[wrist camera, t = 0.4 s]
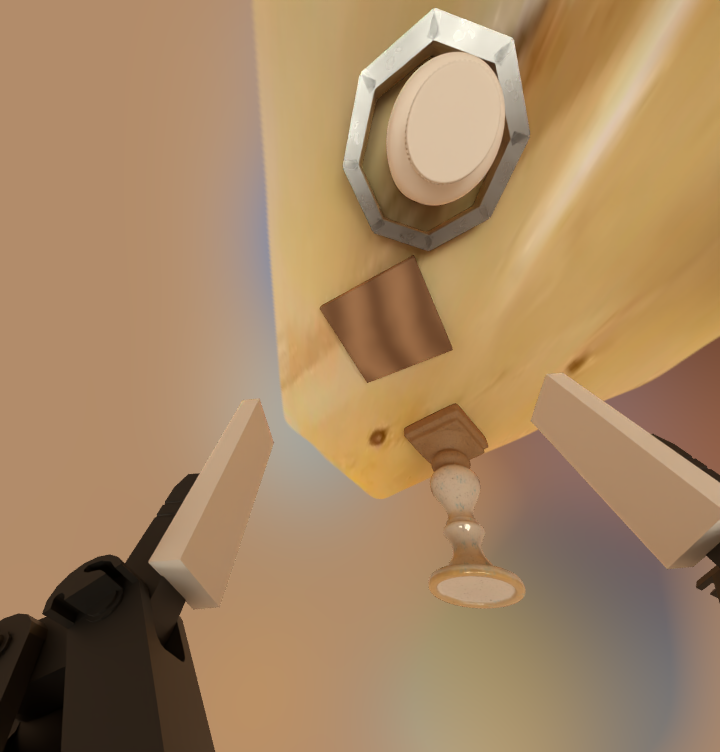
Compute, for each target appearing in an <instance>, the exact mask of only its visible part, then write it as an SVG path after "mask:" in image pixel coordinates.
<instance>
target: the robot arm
mask: <svg viewBox="0 0 720 752" xmlns="http://www.w3.org/2000/svg"><path fill="white" fill-rule="evenodd" d="M531 422H532V423H533V424H534V425H535V426H536V427H537V428H538V429H539V430H540V431H541V433H542V434H543V435H544V436H545V437H546V438H547V439H548V440H549V441H550V442H551V443H552V445H553V446H554V447H555V448H556V449H557V450H558V451H559V452H560V453H561V454H562V455H563V457H564V458H565V459H566V460H567V461H568V462H569V463H570V464H571V465H572V466H573V467H574V468H575V470H576V471H577V472H578V473H579V474H580V475H581V476H582V477H583V478H584V479H585V480H586V481H587V483H588V484H589V485H590V486H591V487H592V488H593V489H594V490H595V491H596V492H597V493H598V494H599V495H600V497H601V498H602V499H603V500H604V501H605V502H606V503H607V504H608V505H609V506H610V508H611V509H612V510H613V511H614V512H615V513H616V514H617V515H618V516H619V517H620V518H621V519H622V520H623V522H624V523H625V524H626V525H627V526H628V527H629V528H630V529H631V530H632V531H633V532H634V534H635V535H636V536H637V537H638V538H639V539H640V540H641V541H642V542H643V543H644V544H645V545H646V547H647V548H648V549H649V550H650V551H651V552H652V553H653V554H654V555H655V556H656V557H657V558H658V560H659V561H660V562H661V563H662V564H663V565H664V566H665V567H666V568H667V569H672V568H683V567H694V566H695V565H696V564H697V563H698V562H699V561H700V560H702V559H703V558H704V557H705V556H708V557H709V558H710V559H711V560H712V561H713V562H714V563H715V564H716V566H715V567H714V568H713V569H711V570H710V571H709V572H708V573H707V574H705V575H704V576H703V577H701V578H700V579H699V580H698V581H697V584H696V588H698V589H700V590H703V589H705V588H706V587H707V586H708V585H710V584H711V583H714V584H715V589H714V590H713V591H712V592H711V593H710V594H711V595H713V596H715V597H717V598H718V599H719V602H720V475H719V474H717V473H716V472H714V471H713V470H711V469H708V468H707V466H706V465H704V464H703V463H701V462H700V461H698V460H697V459H693V458H692V456H691V455H689V454H688V453H686V452H685V451H683V450H682V449H681V448H679V447H678V446H676V445H675V444H673V443H671V442H669V441H666V440H665V439H662V438H660V437H658V436H656V435H654V434H649V433H648V432H647V431H645V430H644V429H642V428H641V427H640V426H638V425H636V424H635V423H634V422H632V421H631V420H629V419H628V418H627V417H625V416H624V415H622V414H621V413H619V412H618V411H617V410H615V409H614V408H612V407H611V406H609V405H608V404H607V403H605V402H604V401H602V400H601V399H600V398H598V397H597V396H595V395H594V394H592V393H591V392H590V391H588V390H587V389H585V388H584V387H582V386H581V385H580V384H578V383H577V382H575V381H574V380H572V379H571V378H570V377H568V376H567V375H565V374H564V373H554V374H546V376H545V379H544V382H543V385H542V388H541V391H540V394H539V397H538V400H537V403H536V406H535V409H534V412H533V415H532V418H531ZM273 443H274V442H273V439H272V436H271V433H270V430H269V427H268V424H267V421H266V417H265V414H264V411H263V408H262V405H261V402H260V399H249V400H243V401H242V402H241V404H240V405H239V407H238V409H237V411H236V412H235V414H234V416H233V417H232V419H231V421H230V423H229V424H228V426H227V428H226V430H225V431H224V433H223V435H222V436H221V438H220V440H219V442H218V443H217V445H216V447H215V448H214V450H213V452H212V453H211V455H210V457H209V459H208V460H207V462H206V464H205V465H204V467H203V469H202V471H201V472H200V473H199V474H188V475H187V476H186V477H185V478H184V479H183V480H182V481H181V482H180V483H179V484H177V485H176V486H175V487H174V489H173V490H172V492H171V493H170V495H169V497H168V498H167V500H166V501H165V505H163V506H162V507H161V509H160V510H159V512H158V513H157V517H156V518H154V520H153V521H152V523H151V524H150V526H149V527H148V529H147V530H146V532H145V534H144V535H143V536H142V538H141V540H140V541H139V543H138V544H137V546H136V547H135V549H134V550H133V552H132V553H131V555H130V556H129V558H128V560H127V561H126V563H124V562H122V560H120V558H118V557H117V556H113V555H105V556H100V557H97V558H95V559H93V560H91V561H88V562H86V563H84V564H83V565H82V566H80V567H79V568H78V569H76V570H75V571H74V572H72V573H70V574H69V575H68V576H67V578H65V579H64V580H63V581H62V582H61V583H60V584H59V585H58V586H57V587H56V589H55V590H54V592H53V593H52V594H51V596H50V597H49V599H48V600H47V602H46V605H45V608H44V610H43V613H42V614H43V615H45V616H47V617H45V618H42V619H40V620H37V619H35V618H33V617H31V616H29V615H27V614H16V615H13V616H10V617H7V618H4V619H2V620H1V621H0V752H215V750H214V745H213V742H212V737H211V733H210V730H209V725H208V721H207V717H206V713H205V710H204V705H203V701H202V697H201V693H200V689H199V685H198V681H197V677H196V673H195V669H194V665H193V661H192V657H191V653H190V649H189V645H188V641H187V637H186V633H185V629H184V625H183V621H182V619H181V617H180V616H179V615H180V613H181V610H182V608H183V605H184V603H185V601H186V602H187V603H188V604H189V605H190V606H191V607H192V608H193V609H204V608H214V607H215V608H216V607H220V604H221V601H222V598H223V595H224V592H225V589H226V586H227V583H228V580H229V577H230V574H231V571H232V568H233V565H234V561H235V559H236V556H237V553H238V550H239V547H240V544H241V541H242V538H243V535H244V531H245V528H246V525H247V522H248V519H249V516H250V513H251V510H252V507H253V504H254V501H255V498H256V495H257V492H258V489H259V486H260V483H261V480H262V477H263V474H264V471H265V468H266V465H267V461H268V459H269V456H270V453H271V449H272V447H273Z"/></svg>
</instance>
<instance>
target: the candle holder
mask: <svg viewBox="0 0 720 752" xmlns="http://www.w3.org/2000/svg"><path fill="white" fill-rule="evenodd" d="M404 433H405V437H406V438H407V439H408V441H409V442H410V443H411V444H412V445H413V446H414V447H415V449H416V450H417V451H418V452H419V453H420V454H421V455H422V456H423V457H424V458H425V459H426V460H427V461H428V462H430V463H431V464H432V469H433V471H434V473H433V475H432V476H431V480H430V487H431V491H432V493H433V495H434V496H435V498H436V499H437V501H438V502H439V503H440V504H441V505H442V506H443V507H444V509H445V510H446V512H447V514H448V521H447V523H446V526H445V527H444V530H443V533H444V535H445V537H446V538H447V539H448V540H449V542H450V543H451V545H452V548H453V557H452V559H451V561H450V562H449V565H448V566H445V567H442V568H440V569H438V570H436V571H434V572H433V573H432V574H431V576H430V577H429V589H430V591H431V593H432V594H433V595H434V596H435V597H437V598H438V599H440V600H442V601H445V602H447V603H450V604H454V605H457V606H462V607H469V608H499V607H505V606H509V605H512V604H515V603H517V602H519V601H520V600H521V599H522V598H523V597H524V595H525V587H524V584H523V582H522V581H521V579H520V578H519V577H518V576H517V575H515V574H514V573H512V572H510V571H508V570H506V569H503V568H500V567H497V566H493V564H492V563H491V562H490V561H489V560H488V559H487V558H486V557H485V556H484V553H483V551H482V541H483V538H484V536H485V530H484V528H483V527H482V526H481V525H479V523H478V521H477V520H476V519H475V518H474V516H473V510H474V506H475V504H476V502H477V500H478V497H479V494H480V481H479V479H478V477H477V475H476V474H475V473H474V472H473V471H472V470H471V469H470V459H472V458H475V457H477V456H479V455H481V454H483V453H484V449H485V448H487V447H488V444H487V441H486V438H485V437H484V436H483V434H482V433H481V432H480V430H479V429H478V428H477V427H476V426H475V424H474V423H473V422H472V421H471V420H470V418H469V417H468V416H467V415H466V414H465V412H464V411H463V410H462V409H461V408H460V407H459V406H458V405H457V404H452V405H450V406H448V407H446V408H443V409H441V410H439V411H437V412H435V413H433V414H431V415H429V416H427V417H425V418H423V419H421V420H419V421H417V422H415V423H413V424H411V425H409V426H408V427H406V428H405V429H404Z"/></svg>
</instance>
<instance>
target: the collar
mask: <svg viewBox="0 0 720 752" xmlns="http://www.w3.org/2000/svg"><path fill="white" fill-rule="evenodd" d="M450 52H465V53H469V54H472V55H475V56H477V57H479V58H480V59H482V60H483V61H484V62H485V63H487V64H488V65H489V67H490V68H491V69H492V70H493V72H494V73H495V75H496V77H497V78H498V81H499V83H500V85H501V88H502V92H503V96H504V103H505V124H504V131H503V136H502V140H501V144H500V147H499V150H498V152H497V155H496V157H495V159H494V161H493V163H492V165H491V167H490V169H489V171H488V173H487V175H486V177H485V180H484V182H483V184H482V186H481V189H480V191H479V193H478V195H477V197H476V200H475V202H474V204H473V206H471V207H470V208H468V209H466V210H464V211H463V212H461V213H459V214H457V215H456V216H454V217H452V218H450V219H449V220H447V221H445V222H443V223H442V224H440V225H438V226H436V227H435V228H433V229H431V230H429V231H428V232H425V231H422V230H419V229H416V228H413V227H411V226H408V225H405V224H402V223H399V222H396V221H393V220H390V219H387V218H384V216H383V214H382V212H381V209H380V207H379V205H378V203H377V200H376V198H375V196H374V194H373V191H372V189H371V187H370V184H369V182H368V180H367V178H366V175H365V173H364V171H363V169H362V165H363V160H364V156H365V151H366V147H367V142H368V138H369V133H370V129H371V124H372V119H373V115H374V110H375V106H376V101H377V99H378V98H380V97H381V96H382V95H383V94H384V93H386V92H387V91H388V90H389V89H391V88H392V87H393V86H394V85H395V84H397V83H398V82H399V81H400V80H402V79H403V78H404V77H405V76H406V75H408V74H409V73H410V72H411V71H413V70H414V69H415V68H416V67H417V66H419V65H420V64H421V63H422V62H424V61H425V60H426V59H427V58H428V57H430V56H431V57H433V58H434V57H437V56H439V55H442V54H445V53H450ZM529 135H530V130H529V124H528V119H527V113H526V107H525V101H524V96H523V90H522V84H521V78H520V73H519V67H518V61H517V55H516V50H515V44H514V40H512V37H509V36H507V35H504V34H502V33H499V32H496V31H494V30H491V29H489V28H486V27H484V26H481V25H478V24H476V23H473V22H471V21H468V20H466V19H463V18H460V17H458V16H455V15H453V14H450V13H448V12H445V11H442V10H440V9H437V8H435V10H434V9H432V10H431V11H430V12H429V13H427V14H426V15H425V16H424V17H423V18H422V19H421V20H420V21H418V22H417V23H416V24H415V25H414V26H413V27H412V28H410V29H409V30H408V31H407V32H406V33H405V34H404V35H403V36H401V37H400V38H399V39H398V40H397V41H396V42H395V43H393V44H392V45H391V46H390V47H389V48H388V49H387V50H386V51H384V52H383V53H382V54H381V55H380V56H379V57H378V58H377V59H375V60H374V61H373V62H372V63H371V64H370V65H369V66H367V67H366V68H365V69H364V70H363V71H362V72H361V75H360V76H359V81H358V86H357V92H356V97H355V102H354V108H353V113H352V119H351V124H350V129H349V135H348V140H347V145H346V151H345V156H344V162H343V167H344V168H343V170H344V172H345V174H346V176H347V178H348V180H349V182H350V184H351V187H352V189H353V191H354V193H355V195H356V197H357V199H358V202H359V204H360V206H361V208H362V210H363V212H364V214H365V216H366V219H367V221H368V223H369V225H370V227H371V229H372V231H373V232H374V233H375V234H378V235H381V236H384V237H387V238H390V239H393V240H396V241H399V242H402V243H405V244H408V245H411V246H414V247H417V248H420V249H423V250H426V251H430V250H432V249H434V248H436V247H438V246H440V245H442V244H443V243H445V242H447V241H449V240H451V239H453V238H455V237H456V236H458V235H460V234H462V233H464V232H466V231H467V230H469V229H471V228H473V227H475V226H477V225H479V224H480V223H482V222H484V221H486V220H488V219H489V217H490V218H491V215H492V213H493V211H494V209H495V207H496V205H497V203H498V201H499V199H500V197H501V195H502V193H503V191H504V189H505V187H506V185H507V183H508V181H509V179H510V177H511V175H512V173H513V171H514V168H515V166H516V164H517V162H518V160H519V158H520V156H521V154H522V152H523V150H524V148H525V146H526V144H527V142H528V140H529V138H530V137H529Z"/></svg>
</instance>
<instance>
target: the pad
mask: <svg viewBox="0 0 720 752" xmlns="http://www.w3.org/2000/svg"><path fill="white" fill-rule="evenodd" d="M320 310H321V311H322V313H323V314H324V316H325V318H326V319H327V321H328V322H329V324H330V325H331V327H332V328H333V330H334V332H335V333H336V335H337V336H338V338H339V339H340V341H341V342H342V344H343V346H344V347H345V349H346V350H347V352H348V353H349V355H350V356H351V358H352V360H353V361H354V363H355V364H356V366H357V367H358V369H359V370H360V372H361V374H362V375H363V377H364V378H365V380H366V381H367V383H368V382H371V381H373V380H376V379H379V378H381V377H384V376H386V375H389V374H392V373H394V372H397V371H399V370H402V369H405V368H407V367H410V366H412V365H415V364H417V363H420V362H423V361H425V360H428V359H430V358H433V357H436V356H438V355H441V354H443V353H446V352H448V351H451V350H453V349H452V346H451V344H450V341H449V339H448V337H447V334H446V332H445V329H444V327H443V325H442V322H441V320H440V317H439V315H438V313H437V310H436V308H435V305H434V303H433V301H432V298H431V296H430V293H429V291H428V289H427V286H426V284H425V281H424V279H423V277H422V274H421V272H420V269H419V267H418V265H417V262H416V260H415V257H414V255H413V256H411V257H409V258H407V259H406V260H404V261H402V262H400V263H398V264H396V265H395V266H393V267H391V268H389V269H387V270H386V271H384V272H382V273H380V274H378V275H376V276H375V277H373V278H371V279H369V280H367V281H365V282H364V283H362V284H360V285H358V286H356V287H354V288H353V289H351V290H349V291H347V292H345V293H344V294H342V295H340V296H338V297H336V298H334V299H333V300H331V301H329V302H327V303H325V304H323V305H322V306H321V307H320Z"/></svg>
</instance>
